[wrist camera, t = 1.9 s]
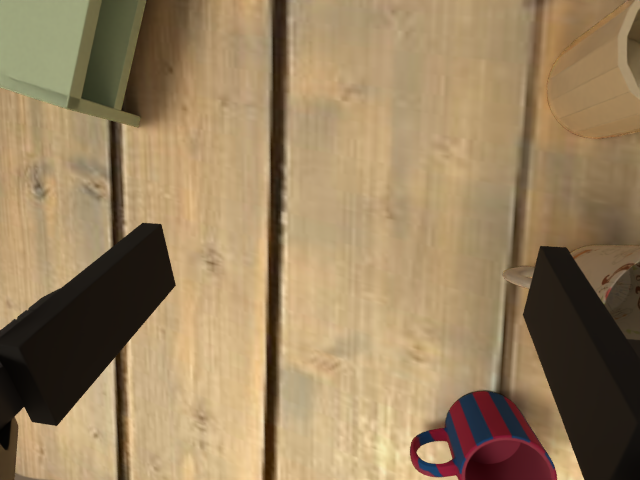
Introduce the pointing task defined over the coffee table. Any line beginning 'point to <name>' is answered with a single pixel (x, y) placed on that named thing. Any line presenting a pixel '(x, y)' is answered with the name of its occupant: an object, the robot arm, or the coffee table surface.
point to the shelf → (71, 53)
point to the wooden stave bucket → (600, 78)
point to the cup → (486, 442)
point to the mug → (604, 281)
